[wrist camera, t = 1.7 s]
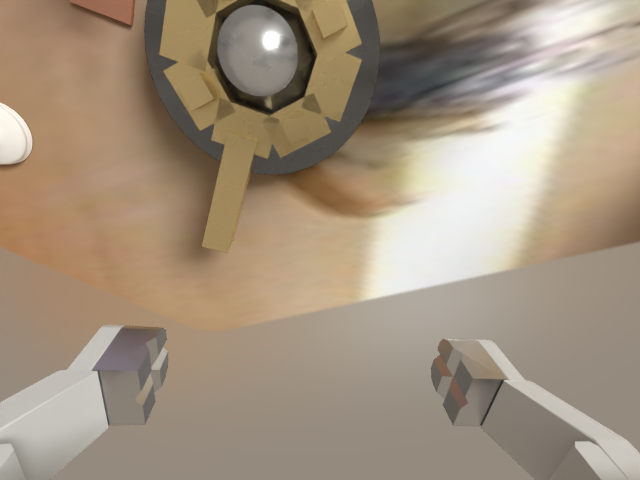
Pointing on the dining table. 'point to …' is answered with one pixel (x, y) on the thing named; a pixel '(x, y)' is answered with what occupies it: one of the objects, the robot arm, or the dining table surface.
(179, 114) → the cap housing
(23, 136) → the chess piece
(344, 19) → the gold ring with handle
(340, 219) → the dining table surface
